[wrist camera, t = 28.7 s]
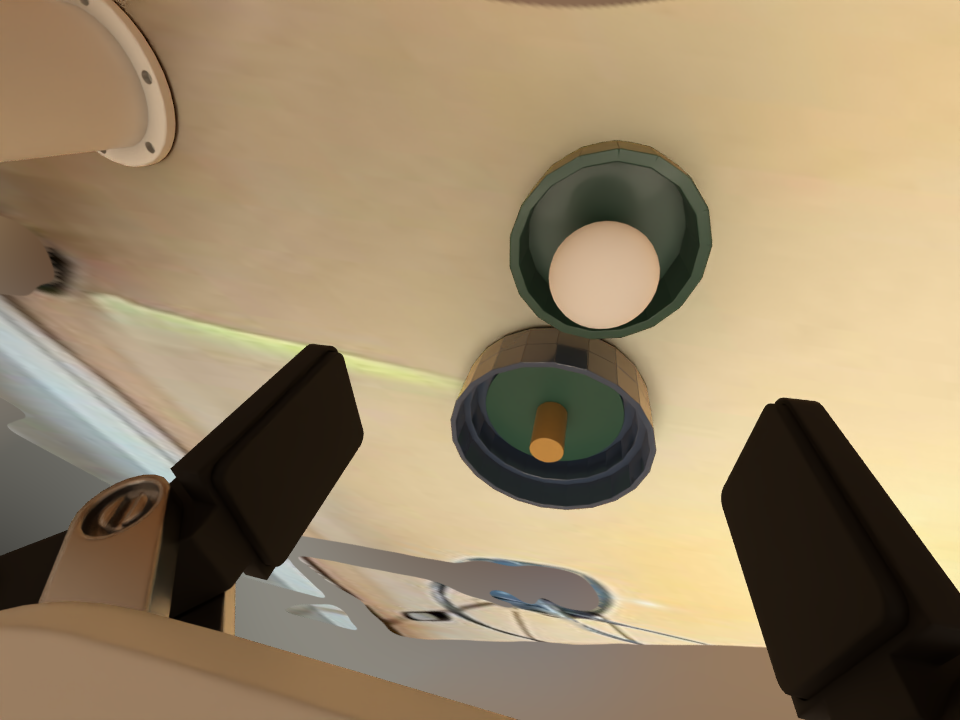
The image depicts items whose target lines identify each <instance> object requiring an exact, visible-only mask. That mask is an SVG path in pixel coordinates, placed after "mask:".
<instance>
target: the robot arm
mask: <svg viewBox="0 0 960 720" xmlns="http://www.w3.org/2000/svg"><path fill="white" fill-rule="evenodd" d="M175 125H176V124H175V113H174V106H173V101H172V97H171V93H170V89H169V87H168V84H167V81H166V78H165V75H164V73H163V71H162V69H161V67H160V65H159V62H158V60H157V58H156V56H155V54H154V53H153V51H152V49H151V48H150V46H149V45H148V43H147V41H146V40H145V38H144V36H143V35H142V34H141V32H140V31H139V30H138V28H137V27H136V26H135V24H134V23H133V22H132V21H131V19H130V18H129V17H128V16H127V15H126V14H125V13H124V12H123V11H122V10H121V8H120V7H119V6H118V5H117V4H116V3H115V2H114V1H112V0H0V162H8V161H16V160H25V159H33V158H42V157H50V156H59V155H67V154H76V153H84V152H92V151H96V152H98V153H99V154H100V155H102V156H104V157H106V158H108V159H109V160H111V161H113V162H116V163H119V164H122V165H125V166H132V167H140V166H148V165H152V164H155V163H158V162H159V161H161V160H162V159H163V158H165V157H166V155H167V154H168V152H169V151H170V149H171V147H172V144H173V141H174V137H175ZM363 434H364V433H363V428H362V424H361V420H360V417H359V413H358V409H357V405H356V402H355V398H354V394H353V391H352V387H351V383H350V379H349V376H348V372H347V368H346V364H345V361H344V358H343V355H342V354H341V353H338V351H337V349H336V348H335V347H333V346H326V345H317V344H309V345H308V346H306V347H305V348H304V349H303V350H302V351H301V352H300V353H298V354H297V355H296V356H295V357H294V358H293V359H292V360H291V361H290V362H288V363H287V364H286V365H285V366H284V367H283V368H282V369H281V370H280V371H278V372H277V373H276V374H275V375H274V376H273V377H272V378H271V379H270V380H268V381H267V382H266V383H265V384H264V385H263V386H262V387H261V388H260V389H258V390H257V391H256V392H255V393H254V394H253V395H252V396H251V397H250V398H248V399H247V400H246V401H245V402H244V403H243V404H242V405H241V406H240V407H238V408H237V409H236V410H235V411H234V412H233V413H232V414H231V415H230V416H228V417H227V418H226V419H225V420H224V421H223V422H222V423H221V424H220V425H218V426H217V427H216V428H215V429H214V430H213V431H212V432H211V433H210V434H208V435H207V436H206V437H205V438H204V439H203V440H202V441H201V442H200V443H198V444H197V445H196V446H195V447H194V448H193V449H192V450H191V451H190V452H188V453H187V454H186V455H185V456H184V457H183V458H182V459H181V460H180V461H178V462H177V463H176V464H175V465H174V466H173V467H172V468H171V470H172V472H173V473H174V475H175V476H176V478H175V479H174V480H173V481H172V482H171V483H170V484H169V483H168V482H167V480H166V479H165V478H164V477H161V476H158V475H141V476H136V477H132V478H129V479H126V480H124V481H121V482H119V483H116V484H114V485H112V486H111V487H109V488H107V489H105V490H103V491H102V492H100V493H99V494H98V495H97V496H95V497H94V498H92V499H91V500H90V501H88V502H87V503H86V504H85V505H84V506H83V507H82V508H81V509H80V510H79V511H78V512H77V514H76V515H75V517H74V519H73V521H72V522H71V524H70V526H69V528H68V530H66V531H64V532H61V533H59V534H56V535H53V536H51V537H48V538H46V539H43V540H40V541H38V542H35V543H33V544H30V545H27V546H25V547H22V548H20V549H17V550H14V551H12V552H9V553H7V554H5V555H2V556H0V720H517V719H514V718H511V717H508V716H504V715H501V714H497V713H494V712H491V711H487V710H484V709H481V708H477V707H474V706H470V705H467V704H464V703H460V702H457V701H454V700H451V699H447V698H444V697H440V696H437V695H434V694H430V693H427V692H424V691H420V690H417V689H413V688H410V687H407V686H403V685H400V684H397V683H393V682H390V681H386V680H383V679H380V678H377V677H373V676H370V675H366V674H363V673H360V672H356V671H353V670H350V669H346V668H343V667H339V666H336V665H332V664H329V663H326V662H322V661H319V660H315V659H312V658H309V657H305V656H301V655H298V654H295V653H291V652H288V651H284V650H281V649H277V648H274V647H271V646H267V645H264V644H261V643H257V642H254V641H250V640H247V639H244V638H240V637H237V636H235V584H236V581H237V580H238V578H239V577H240V575H241V574H242V573H243V572H244V573H245V575H249V576H253V577H257V578H261V579H265V580H267V579H268V578H269V576H270V575H271V573H272V572H273V570H274V569H275V567H278V566H280V565H282V564H283V563H284V562H285V560H286V559H287V558H288V556H289V554H290V553H291V552H292V550H293V548H294V547H295V545H296V544H297V542H298V541H299V539H300V537H301V536H302V535H303V533H304V532H305V530H306V529H307V527H308V525H309V524H310V522H311V521H312V519H313V518H314V516H315V515H316V513H317V512H318V510H319V508H320V507H321V505H322V504H323V502H324V501H325V499H326V498H327V496H328V495H329V493H330V492H331V490H332V488H333V487H334V485H335V484H336V482H337V481H338V479H339V478H340V476H341V475H342V473H343V472H344V470H345V468H346V467H347V465H348V464H349V462H350V461H351V459H352V458H353V456H354V455H355V453H356V451H357V450H358V448H359V447H360V445H361V443H362V440H363ZM721 502H722V507H723V510H724V514H725V517H726V520H727V523H728V526H729V529H730V533H731V536H732V539H733V542H734V545H735V549H736V552H737V555H738V558H739V561H740V564H741V568H742V571H743V574H744V577H745V580H746V584H747V587H748V590H749V593H750V596H751V599H752V603H753V606H754V609H755V612H756V615H757V618H758V622H759V625H760V628H761V631H762V634H763V638H764V641H765V644H766V647H767V650H768V653H769V657H770V660H771V663H772V666H773V669H774V672H775V675H776V679H777V681H778V684H779V686H780V687H781V689H782V690H783V691H784V692H785V694H788V695H791V697H792V700H793V703H794V706H795V709H796V712H797V716H798V718H801V719H805V720H960V593H959V591H958V590H957V589H956V587H955V586H954V584H953V583H952V582H951V580H950V579H949V578H948V576H947V575H946V574H945V572H944V571H943V569H942V568H941V567H940V565H939V564H938V563H937V561H936V560H935V559H934V557H933V556H932V554H931V553H930V552H929V550H928V549H927V548H926V546H925V545H924V544H923V542H922V541H921V539H920V538H919V537H918V535H917V534H916V533H915V531H914V530H913V529H912V527H911V526H910V524H909V523H908V522H907V520H906V519H905V518H904V516H903V515H902V514H901V512H900V511H899V509H898V508H897V507H896V505H895V504H894V503H893V501H892V500H891V499H890V497H889V496H888V494H887V493H886V492H885V490H884V489H883V488H882V486H881V485H880V483H879V482H878V481H877V479H876V478H875V477H874V475H873V474H872V473H871V471H870V470H869V468H868V467H867V466H866V464H865V463H864V462H863V460H862V459H861V458H860V456H859V455H858V453H857V452H856V451H855V449H854V448H853V447H852V445H851V444H850V443H849V441H848V440H847V438H846V437H845V436H844V434H843V433H842V432H841V430H840V429H839V428H838V426H837V425H836V423H835V422H834V421H833V419H832V418H831V417H830V415H829V414H828V413H827V411H826V410H825V408H824V407H823V406H822V405H821V404H820V403H818V402H816V401H809V400H800V399H791V398H780V399H778V400H777V401H776V402H775V404H768V405H766V406H765V408H764V409H763V411H762V413H761V415H760V417H759V419H758V421H757V423H756V425H755V427H754V429H753V431H752V433H751V434H750V436H749V438H748V440H747V442H746V444H745V446H744V448H743V450H742V452H741V454H740V456H739V458H738V460H737V462H736V464H735V466H734V468H733V470H732V472H731V473H730V475H729V477H728V479H727V481H726V483H725V485H724V487H723V490H722V494H721Z"/></svg>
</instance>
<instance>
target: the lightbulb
mask: <svg viewBox="0 0 960 720" xmlns="http://www.w3.org/2000/svg"><path fill="white" fill-rule="evenodd" d="M659 276H660V266H659V260H658V256H657V254H656V251H655V249H654V247H653V245H652V243H651V242H650V241H649V240H648V238H647V237H646V236H645V235H644V234H642V233H641V232H640V231H639V230H637V229H635V228H633V227H631V226H629V225H627V224H624V223H620V222H616V221H601V222H594V223H591V224H588V225H585V226H583V227H581V228H580V229H578V230H576V231H574V232H573V233H572V234H571V235H569V236H568V237H567V238H566V239H565V240H564V241H563V242H562V243H561V245H560V246H559V247H558V249H557V251H556V252H555V254H554V256H553V259H552V262H551V266H550V270H549V286H550V291H551V294H552V297H553V300H554V301H555V303H556V305H557V307H558V308H559V309H560V310H561V311H562V313H563V314H564V315H565V316H566V317H568V318H569V319H570V320H572V321H573V322H575V323H577V324H579V325H581V326H585V327H588V328H594V329H609V328H613V327H618V326H620V325H623V324H625V323H628V322H629V321H631V320H633V319H634V318H636V317H637V316H638V315H639V314H640V313H642V312H643V311H644V309H645V308H646V307H647V305H648V304H649V303H650V302H651V300H652V298H653V296H654V294H655V292H656V289H657V286H658V282H659Z"/></svg>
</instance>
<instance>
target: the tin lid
mask: <svg viewBox="0 0 960 720" xmlns="http://www.w3.org/2000/svg"><path fill="white" fill-rule="evenodd" d="M486 410H487V414H488V417H489V420H490V422H491V424H492V425H493V427H494V429H495V430H496V431H497V433H498V434H499V435H500V436H501V437H502V438H503V439H504V440H505V441H506V442H508V443H509V444H510V445H512V446H513V447H515V448H516V449H518V450H520V451H522V452H524V453H526V454H529V455H531V456H534V457H535V458H536V459H538V460H540V461H543V462H555V461H572V460H578V459H583V458H587V457H590V456H592V455H595V454H597V453H599V452H601V451H602V450H604V449H605V448H607V447H608V446H609V445H610V444H611V443H612V442H613V441H614V440H615V439H616V438H617V436H618V435H619V433H620V431H621V429H622V426H623V423H624V404H623V399H622V397H621V395H620V394H619V393H617V392H616V391H615V390H614V389H613V388H611V387H609V386H607V385H605V384H603V383H601V382H599V381H597V380H595V379H593V378H591V377H589V376H587V375H584V374H580V373H576V372H572V371H567V370H563V369H559V368H554V367H522V368H518V369H514V370H510V371H506V372H502V373H499V374H496V375H495V377H494V378H493V380H492V381H491V383H490V386H489V388H488V391H487V395H486Z"/></svg>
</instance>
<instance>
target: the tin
mask: <svg viewBox="0 0 960 720" xmlns="http://www.w3.org/2000/svg"><path fill="white" fill-rule="evenodd" d="M601 221H616V222H620V223H624V224H627V225H629V226H631V227H633V228H635V229H637V230H639V231H640V232H641V233H642V234H644V235H645V236H646V237H647V238H648V240H649V241H650V242H651V243H652V245H653V247H654V249H655V251H656V254H657V256H658V260H659V266H660V276H659V282H658V286H657V289H656V292H655V294H654V296H653V298H652V300H651V302H650V303H649V304H648V305H647V307H646V308H645V309H644V311H643V312H642V313H640V314H639V315H638V316H637V317H636V318H634V319H633V320H631V321H629V322H628V323H625V324H623V325H620V326H618V327H613V328H609V329H594V328H588V327H585V326H581V325H579V324H577V323H575V322H573V321H572V320H570V319H569V318H568V317H566V316H565V315H564V314H563V313H562V311H561V310H560V309H559V308H558V307H557V305H556V303H555V301H554V300H553V297H552V294H551V291H550V286H549V270H550V266H551V262H552V259H553V256H554V254H555V252H556V251H557V249H558V247H559V246H560V245H561V243H562V242H563V241H564V240H565V239H566V238H567V237H568V236H569V235H571V234H572V233H573V232H574V231H576V230H578V229H580V228H581V227H583V226H585V225H588V224H591V223H594V222H601ZM711 247H712V236H711V226H710V216H709V209H708V206H707V204H706V203H705V201H704V199H703V198H702V196H701V194H700V193H699V191H698V189H697V187H696V186H695V184H694V182H693V181H692V179H691V177H690V176H689V175H688V174H687V173H686V172H684V171H683V170H682V169H681V168H680V167H679V166H678V165H677V164H675V163H674V162H673V161H671V160H670V159H668V158H667V157H665V156H664V155H663V154H661V153H659V152H658V151H657V150H655V149H654V148H652V147H650V146H646V145H642V144H637V143H633V142H626V141H619V140H617V141H616V140H614V141H609V142H601V143H597V144H592V145H589V146H584V147H581V148H579V149H578V150H576V151H574V152H572V153H571V154H569V155H567V156H565V157H564V158H563V159H561V160H560V161H558V162H556V163H555V164H553V165H552V166H551V167H550V168H549V170H548V171H547V172H546V173H545V174H544V176H543V177H542V178H541V179H540V181H539V182H538V183H537V184H536V185H535V187H534V188H533V189H532V190H531V192H530V193H529V195H528V196H527V198H526V199H525V201H524V202H523V204H522V205H521V208H520V210H519V213H518V216H517V219H516V221H515V224H514V227H513V229H512V232H511V235H510V270H511V272H512V275H513V278H514V281H515V284H516V287H517V289H518V292H519V295H520V296H521V297H522V298H523V300H524V301H525V302H526V303H527V304H528V306H529V307H530V308H531V309H532V310H533V312H534V313H535V314H536V315H537V316H538V318H540V319H542V320H543V321H545V322H547V323H548V324H550V325H551V326H553V327H555V328H556V329H558V330H560V331H561V332H564V333H568V334H572V335H576V336H580V337H584V338H588V339H605V338H622V337H625V336H628V335H631V334H634V333H637V332H639V331H642V330H645V329H648V328H651V327H653V326H655V325H656V324H658V323H659V322H661V321H662V320H663V319H665V318H666V317H668V316H669V315H670V314H672V313H673V312H674V311H676V310H677V309H679V308H680V306H682V305H683V303H684V302H685V301H686V299H687V298H688V297H689V295H690V294H691V293H692V291H693V290H694V288H695V287H696V286H697V284H698V283H699V282H700V280H701V278H702V277H703V274H704V270H705V267H706V264H707V260H708V257H709V254H710V251H711Z"/></svg>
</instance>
